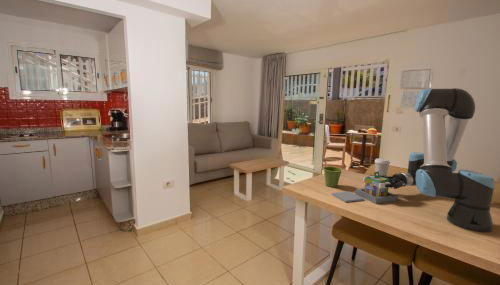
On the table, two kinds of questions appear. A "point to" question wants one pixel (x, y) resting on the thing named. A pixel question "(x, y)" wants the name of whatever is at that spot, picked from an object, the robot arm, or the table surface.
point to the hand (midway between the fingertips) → (371, 182)
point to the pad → (347, 196)
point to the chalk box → (376, 185)
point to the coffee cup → (381, 166)
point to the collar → (374, 199)
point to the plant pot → (332, 176)
